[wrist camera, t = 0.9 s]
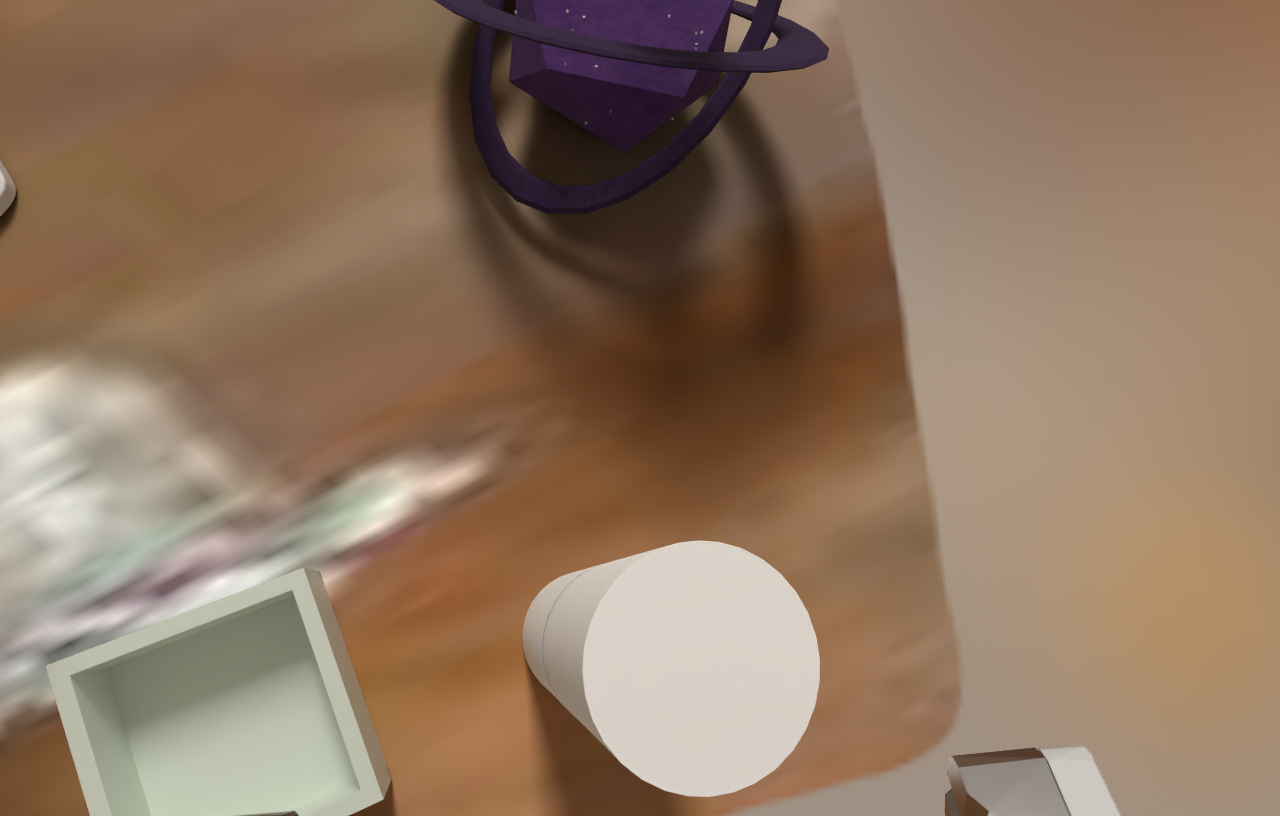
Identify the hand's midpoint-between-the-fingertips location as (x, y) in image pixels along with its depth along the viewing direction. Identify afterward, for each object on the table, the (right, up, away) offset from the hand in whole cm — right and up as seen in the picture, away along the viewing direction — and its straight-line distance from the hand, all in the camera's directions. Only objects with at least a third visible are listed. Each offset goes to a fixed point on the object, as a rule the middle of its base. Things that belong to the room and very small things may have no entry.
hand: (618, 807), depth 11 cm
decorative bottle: (-2, +26, +46) cm, 53 cm away
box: (-20, -11, +34) cm, 41 cm away
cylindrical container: (-3, -8, +38) cm, 39 cm away
